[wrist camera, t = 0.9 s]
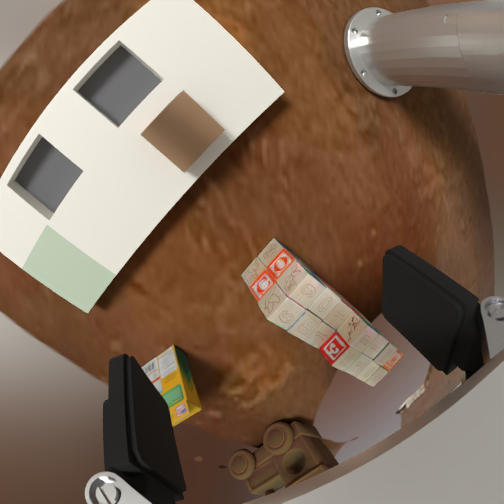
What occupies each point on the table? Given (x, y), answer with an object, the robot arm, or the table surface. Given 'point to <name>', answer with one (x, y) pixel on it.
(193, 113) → the walnut block
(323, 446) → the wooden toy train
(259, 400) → the table surface
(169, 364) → the crayon box
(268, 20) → the table surface
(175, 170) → the trap board
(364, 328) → the stack of blocks
